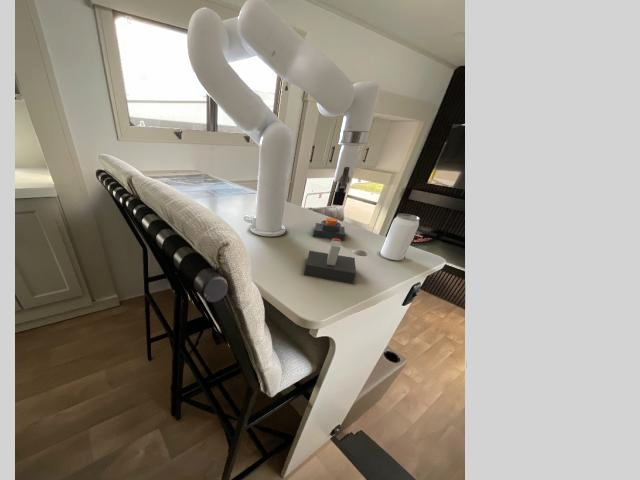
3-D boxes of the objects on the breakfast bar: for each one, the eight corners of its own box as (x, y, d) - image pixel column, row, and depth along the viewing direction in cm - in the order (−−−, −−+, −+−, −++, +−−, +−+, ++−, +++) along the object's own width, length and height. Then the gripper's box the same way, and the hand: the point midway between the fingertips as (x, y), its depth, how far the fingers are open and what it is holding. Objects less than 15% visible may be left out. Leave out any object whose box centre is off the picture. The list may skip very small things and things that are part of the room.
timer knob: (335, 265, 63) (340, 246, 60) (326, 264, 63) (332, 245, 60) (335, 257, 67) (340, 238, 64) (327, 256, 67) (332, 237, 64)
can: (406, 262, 73) (425, 221, 66) (382, 259, 74) (399, 219, 67) (399, 253, 78) (416, 214, 71) (377, 250, 79) (392, 212, 72)
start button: (325, 225, 86) (326, 220, 85) (325, 222, 89) (326, 217, 88) (336, 226, 85) (337, 221, 84) (336, 223, 88) (337, 218, 87)
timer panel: (303, 274, 65) (306, 264, 63) (307, 260, 72) (309, 250, 70) (352, 283, 62) (356, 273, 60) (351, 267, 69) (354, 257, 67)
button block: (312, 236, 87) (315, 224, 85) (314, 228, 93) (317, 217, 91) (343, 240, 85) (346, 229, 82) (342, 232, 91) (345, 221, 89)
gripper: (339, 137, 79) (326, 198, 90) (339, 139, 67) (324, 209, 78) (365, 138, 77) (348, 200, 88) (369, 141, 65) (350, 212, 76)
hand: (337, 204), depth 83 cm, fingers closed
